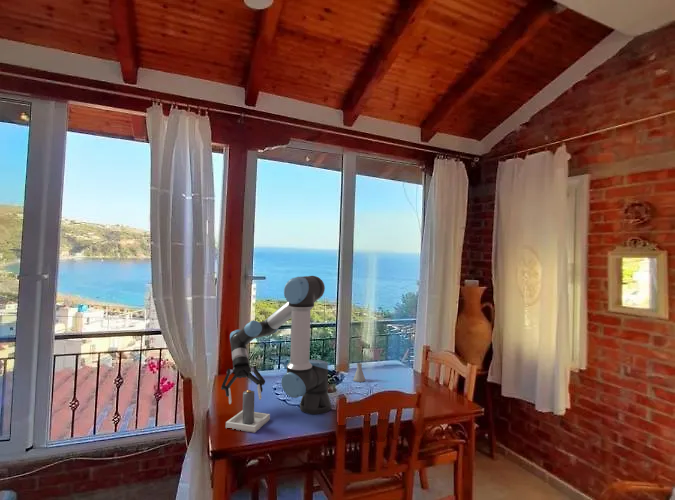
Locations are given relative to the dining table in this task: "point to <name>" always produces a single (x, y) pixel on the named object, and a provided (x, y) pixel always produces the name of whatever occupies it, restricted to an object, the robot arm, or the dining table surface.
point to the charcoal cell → (248, 407)
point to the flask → (359, 374)
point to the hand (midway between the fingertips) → (245, 400)
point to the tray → (238, 424)
